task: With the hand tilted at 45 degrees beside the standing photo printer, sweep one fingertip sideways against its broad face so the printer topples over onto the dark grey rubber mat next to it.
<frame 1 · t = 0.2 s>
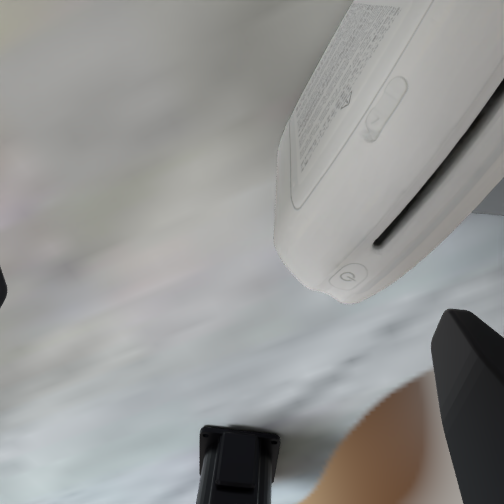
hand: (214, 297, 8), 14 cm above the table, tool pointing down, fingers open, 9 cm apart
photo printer: (356, 78, 19), on the table
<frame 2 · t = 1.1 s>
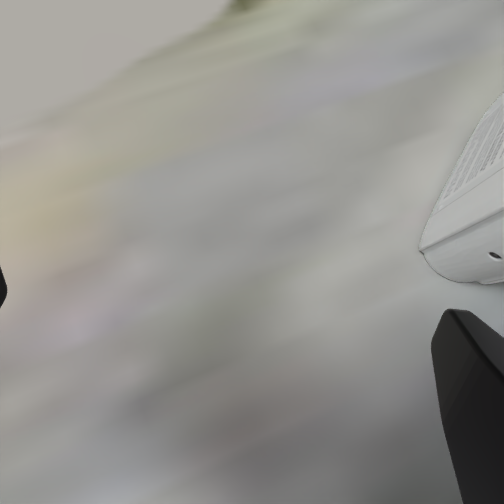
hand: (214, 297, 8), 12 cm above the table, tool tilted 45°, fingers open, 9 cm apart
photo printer: (481, 195, 21), on the table
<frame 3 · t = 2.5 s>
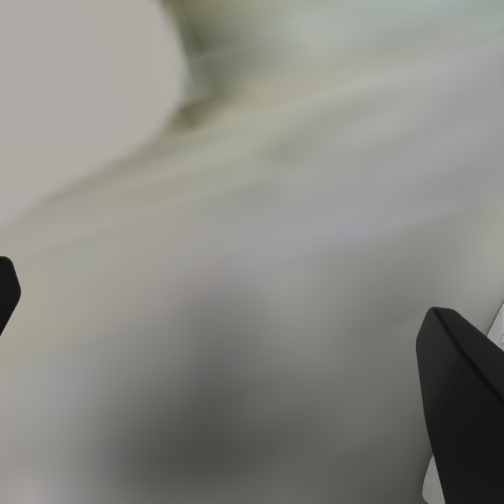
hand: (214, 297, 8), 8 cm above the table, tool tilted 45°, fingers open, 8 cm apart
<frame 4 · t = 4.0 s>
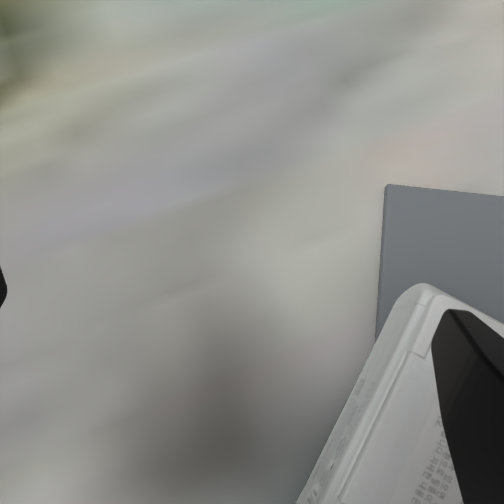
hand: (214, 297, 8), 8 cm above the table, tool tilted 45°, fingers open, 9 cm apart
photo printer: (338, 417, 13), point 3 cm above the table, touching mat
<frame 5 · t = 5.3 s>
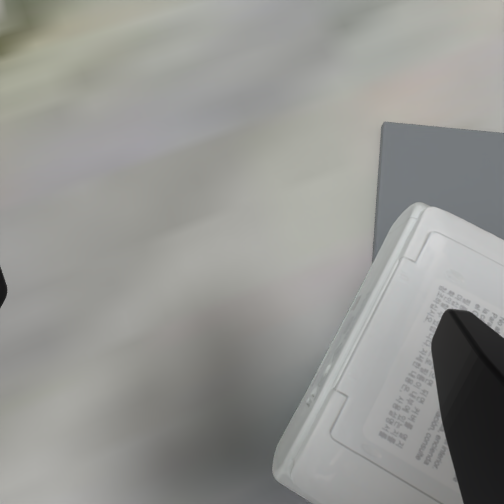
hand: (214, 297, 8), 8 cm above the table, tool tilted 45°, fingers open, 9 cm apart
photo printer: (335, 328, 14), point 3 cm above the table, touching mat
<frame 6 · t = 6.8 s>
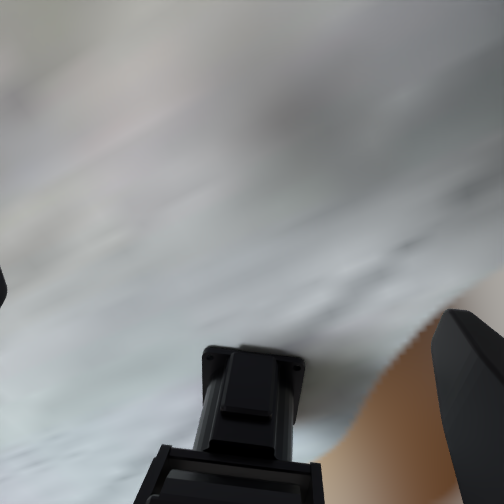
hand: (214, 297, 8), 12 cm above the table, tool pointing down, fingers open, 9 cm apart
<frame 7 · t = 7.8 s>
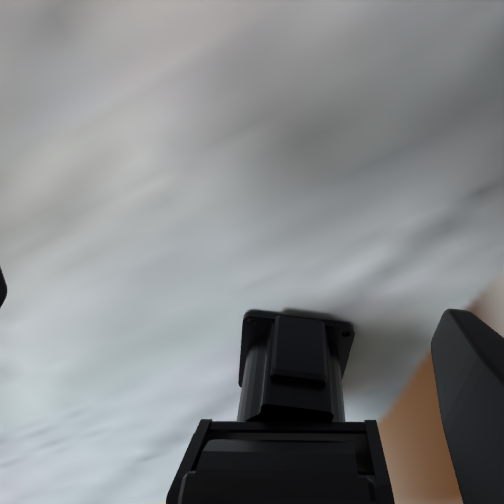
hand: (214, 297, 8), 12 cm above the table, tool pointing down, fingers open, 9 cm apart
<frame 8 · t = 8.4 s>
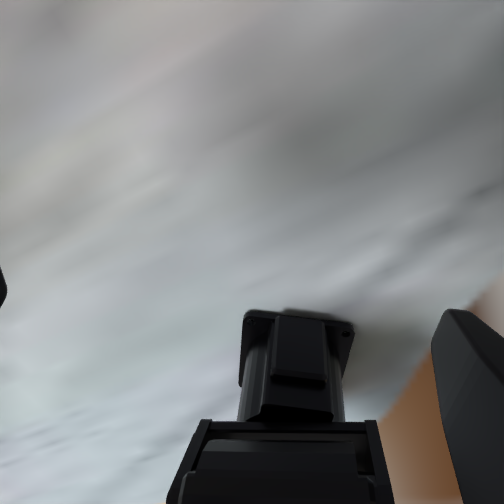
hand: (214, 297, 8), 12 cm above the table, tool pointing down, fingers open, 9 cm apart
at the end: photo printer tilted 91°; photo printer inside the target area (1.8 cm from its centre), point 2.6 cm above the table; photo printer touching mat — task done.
